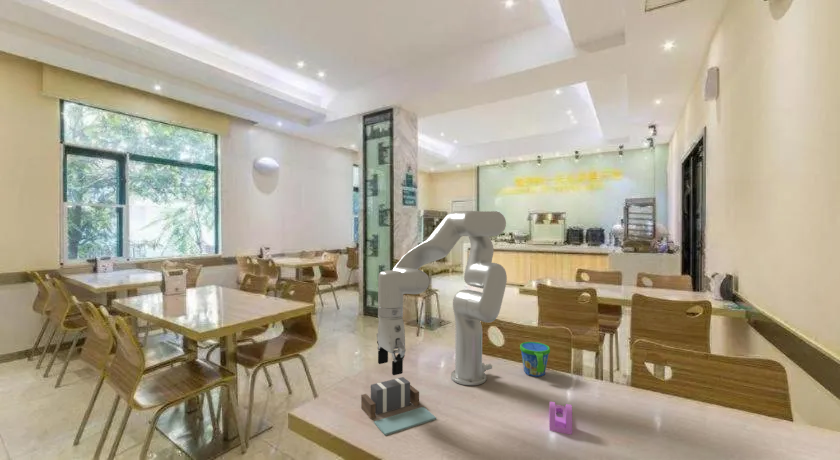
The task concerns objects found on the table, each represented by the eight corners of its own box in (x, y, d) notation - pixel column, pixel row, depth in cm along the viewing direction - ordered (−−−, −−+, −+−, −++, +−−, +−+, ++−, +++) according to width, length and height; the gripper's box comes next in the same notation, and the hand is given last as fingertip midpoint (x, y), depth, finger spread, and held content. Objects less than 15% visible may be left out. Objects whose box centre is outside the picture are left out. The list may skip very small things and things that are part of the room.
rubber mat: (423, 408, 110) (423, 406, 110) (436, 419, 104) (436, 417, 104) (374, 423, 102) (374, 421, 102) (385, 435, 96) (385, 433, 96)
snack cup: (553, 383, 127) (554, 354, 127) (522, 381, 129) (522, 352, 129) (545, 366, 143) (545, 340, 143) (517, 364, 144) (517, 338, 144)
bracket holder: (408, 395, 118) (408, 383, 118) (419, 404, 112) (419, 391, 112) (361, 408, 110) (361, 394, 110) (370, 418, 104) (370, 404, 104)
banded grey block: (403, 399, 116) (403, 376, 116) (410, 405, 112) (410, 382, 112) (370, 407, 110) (370, 384, 110) (376, 414, 106) (376, 390, 106)
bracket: (571, 434, 97) (572, 408, 97) (549, 430, 99) (549, 405, 98) (569, 411, 109) (569, 387, 109) (549, 407, 111) (549, 385, 111)
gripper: (415, 316, 105) (414, 376, 105) (389, 305, 120) (388, 357, 120) (392, 319, 101) (391, 381, 101) (367, 307, 116) (367, 361, 116)
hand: (389, 368), depth 111 cm, fingers open, 9 cm apart
